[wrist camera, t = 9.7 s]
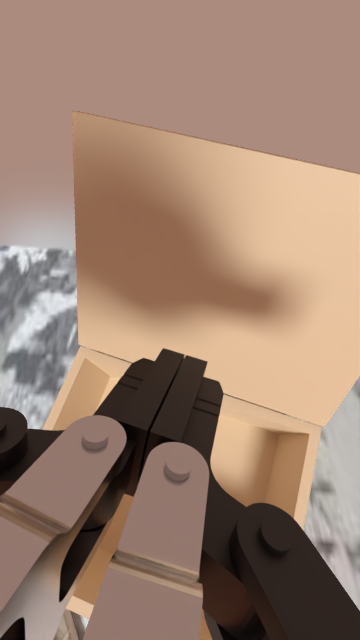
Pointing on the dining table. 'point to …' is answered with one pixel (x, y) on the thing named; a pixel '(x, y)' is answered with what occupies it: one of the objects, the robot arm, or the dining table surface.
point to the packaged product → (66, 628)
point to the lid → (219, 262)
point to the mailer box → (226, 460)
